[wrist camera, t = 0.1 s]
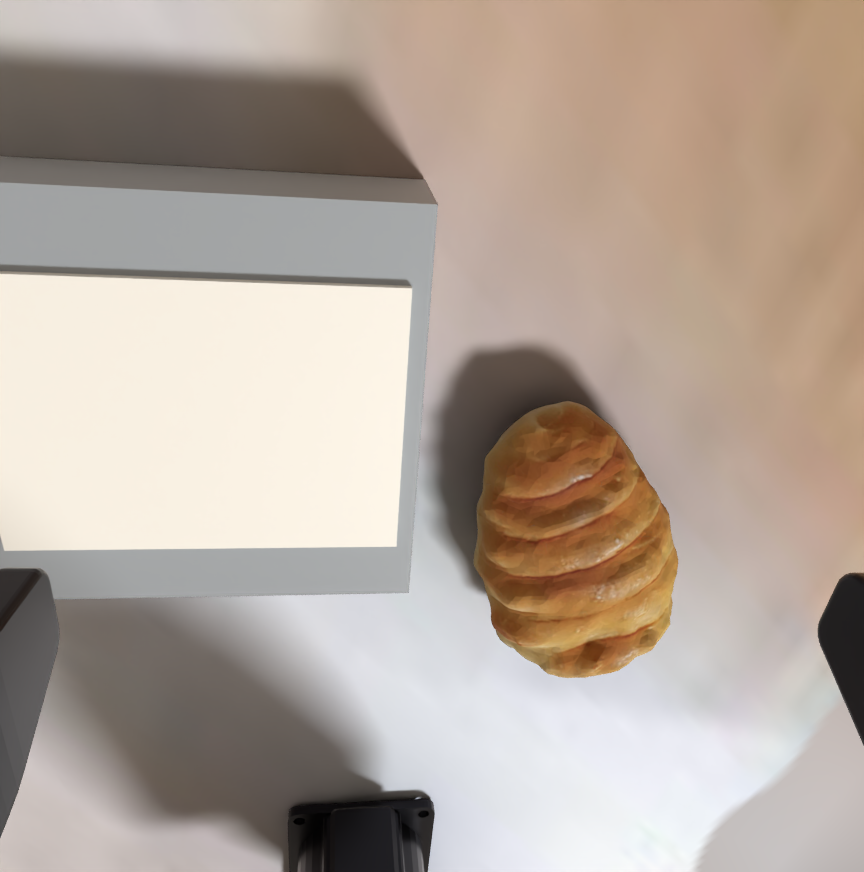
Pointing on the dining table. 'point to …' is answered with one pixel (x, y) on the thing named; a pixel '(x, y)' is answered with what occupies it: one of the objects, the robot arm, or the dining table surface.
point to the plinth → (211, 378)
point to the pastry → (573, 544)
